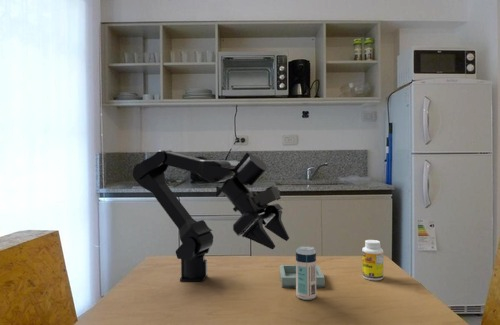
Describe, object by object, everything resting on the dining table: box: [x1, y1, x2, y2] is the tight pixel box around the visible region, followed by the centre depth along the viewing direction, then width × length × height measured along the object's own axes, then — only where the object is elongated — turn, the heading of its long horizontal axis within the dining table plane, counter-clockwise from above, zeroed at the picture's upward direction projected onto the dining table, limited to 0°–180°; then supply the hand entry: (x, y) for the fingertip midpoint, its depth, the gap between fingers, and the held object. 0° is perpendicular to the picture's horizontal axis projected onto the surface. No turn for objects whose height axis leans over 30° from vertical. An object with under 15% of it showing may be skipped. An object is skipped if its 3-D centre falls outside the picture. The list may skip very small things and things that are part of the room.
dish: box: [279, 264, 326, 289], centre depth 101 cm, size 11×11×3 cm
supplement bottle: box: [361, 239, 384, 281], centre depth 102 cm, size 6×6×10 cm
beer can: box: [295, 245, 317, 301], centre depth 88 cm, size 5×5×12 cm
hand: (281, 243), depth 91 cm, fingers open, 9 cm apart
